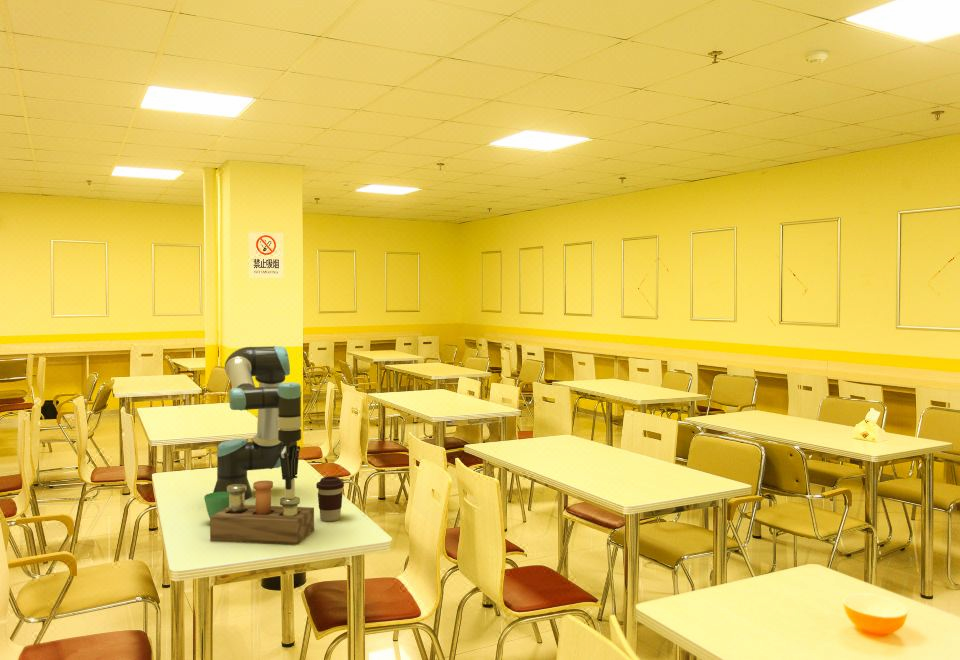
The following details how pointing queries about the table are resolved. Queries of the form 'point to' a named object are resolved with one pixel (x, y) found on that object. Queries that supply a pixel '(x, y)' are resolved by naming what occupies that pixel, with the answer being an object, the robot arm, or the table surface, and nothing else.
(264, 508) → the plunger
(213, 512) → the mug
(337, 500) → the coffee cup
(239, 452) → the robot arm
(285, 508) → the plunger
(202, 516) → the table surface
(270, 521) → the brown wooden block
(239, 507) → the plunger
